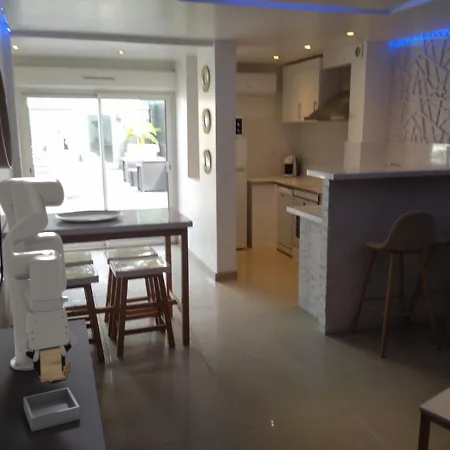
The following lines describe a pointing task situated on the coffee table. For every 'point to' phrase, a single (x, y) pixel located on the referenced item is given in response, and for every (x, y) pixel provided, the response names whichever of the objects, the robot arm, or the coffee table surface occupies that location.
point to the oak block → (50, 364)
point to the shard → (63, 372)
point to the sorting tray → (51, 409)
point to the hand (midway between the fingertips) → (49, 370)
